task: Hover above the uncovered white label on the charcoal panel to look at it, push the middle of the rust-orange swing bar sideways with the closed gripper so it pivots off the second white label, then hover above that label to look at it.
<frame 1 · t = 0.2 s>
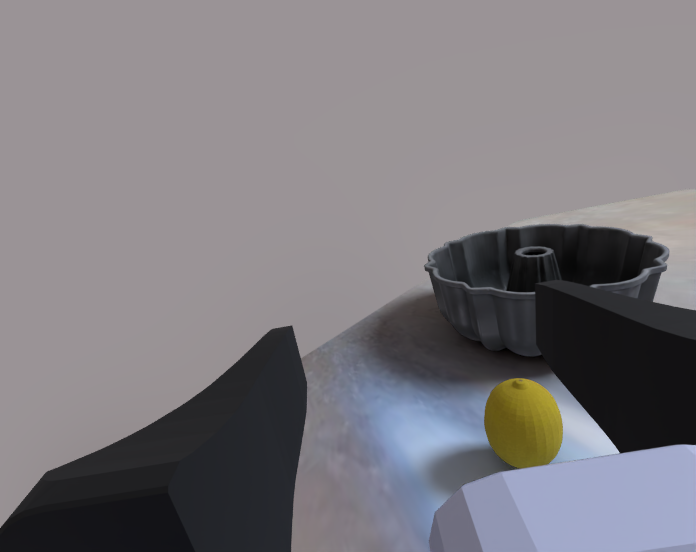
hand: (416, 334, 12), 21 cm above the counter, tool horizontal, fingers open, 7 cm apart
lemon: (523, 466, 32), on the counter
bundt pan: (534, 323, 53), on the counter
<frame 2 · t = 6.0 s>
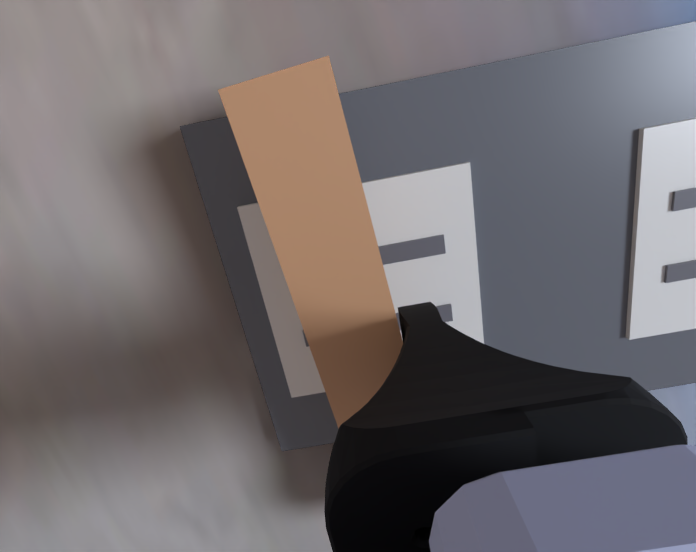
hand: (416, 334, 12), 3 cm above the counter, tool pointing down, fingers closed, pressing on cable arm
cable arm: (367, 371, 12), point 3 cm above the counter, hinge at 4.9°, touching gripper
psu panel: (541, 249, 14), on the counter
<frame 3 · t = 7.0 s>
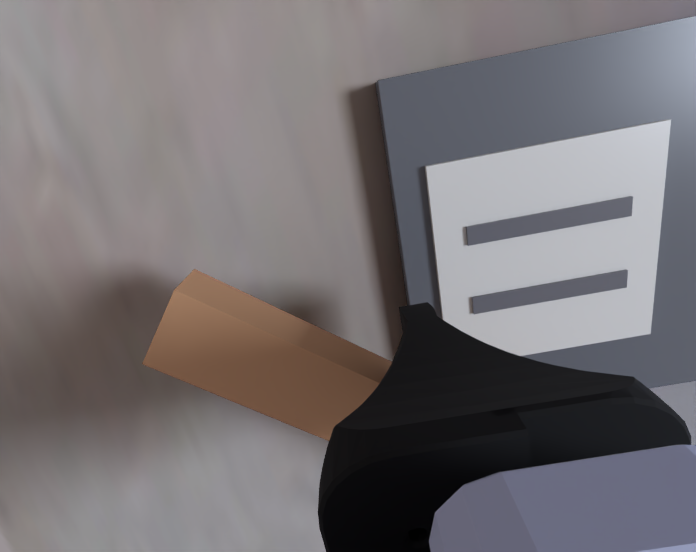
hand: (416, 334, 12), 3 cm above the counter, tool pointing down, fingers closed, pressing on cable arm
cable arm: (419, 425, 12), point 3 cm above the counter, hinge at 50.7°, touching gripper
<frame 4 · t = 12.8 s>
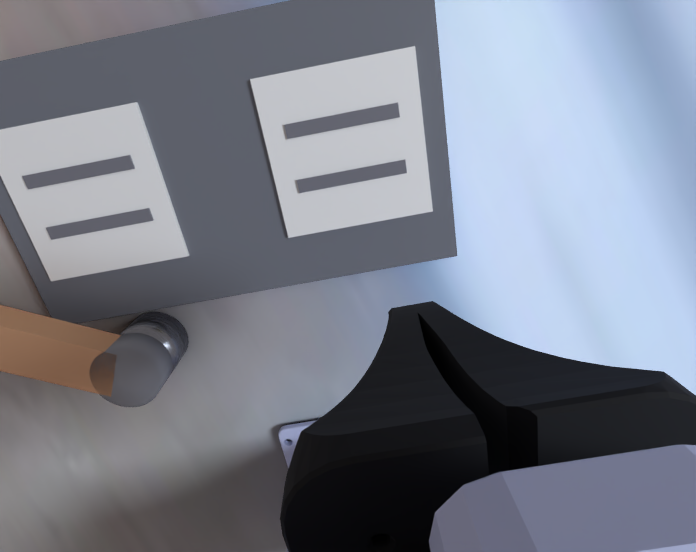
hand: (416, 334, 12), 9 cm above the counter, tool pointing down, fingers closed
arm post: (159, 338, 22), on the counter
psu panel: (222, 171, 19), on the counter
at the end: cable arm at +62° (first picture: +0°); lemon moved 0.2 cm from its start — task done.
